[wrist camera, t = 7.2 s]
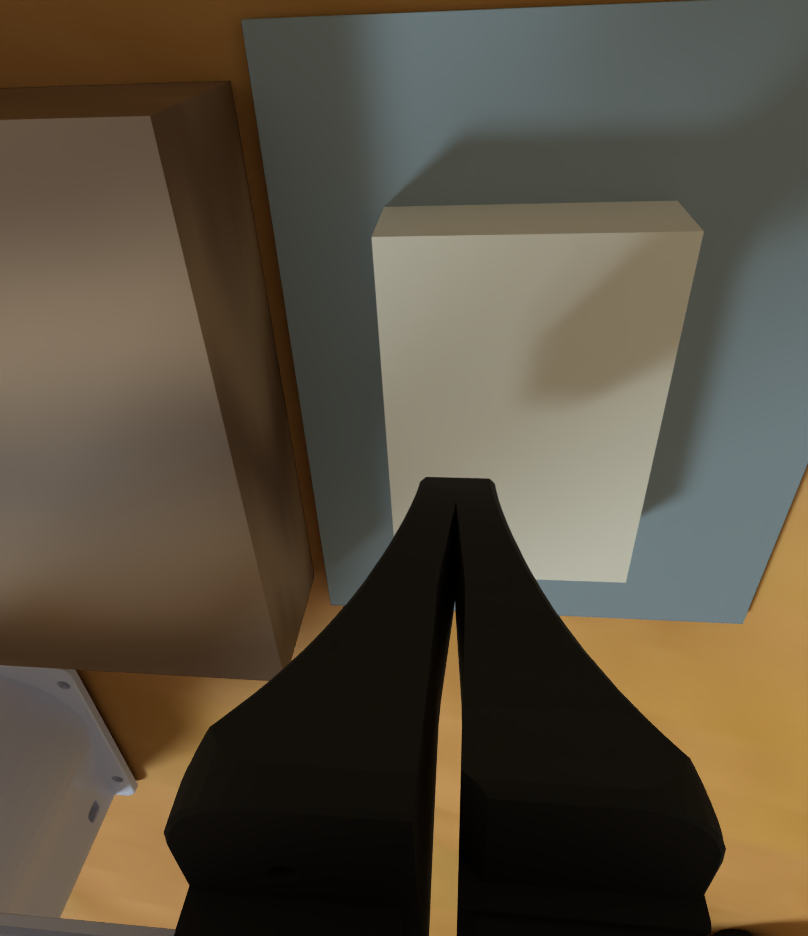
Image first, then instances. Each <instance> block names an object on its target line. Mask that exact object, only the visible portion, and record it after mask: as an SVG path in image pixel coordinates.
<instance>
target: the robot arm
mask: <svg viewBox="0 0 808 936" xmlns="http://www.w3.org/2000/svg"><path fill="white" fill-rule="evenodd" d="M454 604H455V610H456V626H457V641H458V657H459V672H460V687H461V702H462V751H461V791H460V831H459V871H458V911H457V936H707V935H709V934H710V932H711V920H710V916H709V912H708V908H707V904H706V900H705V896H704V894H705V892H706V890H707V889H708V887H709V885H710V883H711V882H712V880H713V878H714V876H715V874H716V873H717V871H718V869H719V867H720V866H721V864H722V862H723V858H724V854H725V850H726V848H725V845H724V842H723V836H722V832H721V828H720V825H719V822H718V819H717V817H716V814H715V812H714V809H713V807H712V804H711V802H710V799H709V797H708V795H707V792H706V790H705V788H704V785H703V783H702V781H701V779H700V777H699V775H698V773H697V771H696V769H695V767H694V765H693V763H692V761H691V759H690V758H689V757H688V756H687V755H686V754H684V753H683V752H682V751H681V750H680V749H679V748H678V747H677V746H675V745H674V744H673V743H672V742H671V741H670V740H669V739H668V738H667V737H665V736H664V735H663V734H662V733H661V732H660V731H659V730H658V729H657V728H656V727H655V726H654V725H653V724H652V723H651V722H650V721H649V720H648V719H647V718H646V717H645V716H644V715H643V714H642V713H641V712H640V711H639V710H638V709H637V708H636V707H635V706H634V705H633V704H632V703H631V702H630V701H629V700H628V699H627V698H626V697H625V696H624V695H623V694H622V693H621V692H620V691H619V690H618V689H617V687H616V686H615V685H614V684H613V683H612V682H611V680H610V679H609V678H608V677H607V676H606V675H605V674H604V672H603V671H602V670H601V669H600V668H599V667H598V665H597V664H596V663H595V662H594V661H593V660H592V659H591V657H590V656H589V655H588V654H587V653H586V652H585V650H584V649H583V648H582V646H581V645H580V644H579V643H578V641H577V640H576V639H575V637H574V636H573V635H572V633H571V632H570V631H569V629H568V628H567V627H566V625H565V624H564V622H563V621H562V620H561V618H560V617H559V615H558V614H557V613H556V611H555V610H554V608H553V607H552V605H551V604H550V602H549V600H548V599H547V597H546V596H545V594H544V593H543V591H542V589H541V588H540V586H539V584H538V582H537V581H536V579H535V577H534V576H533V574H532V572H531V570H530V569H529V567H528V565H527V563H526V561H525V559H524V557H523V555H522V553H521V551H520V549H519V547H518V545H517V543H516V541H515V539H514V537H513V535H512V533H511V530H510V528H509V526H508V523H507V521H506V518H505V516H504V513H503V511H502V508H501V505H500V502H499V499H498V495H497V491H496V486H495V483H494V482H493V481H492V480H491V479H489V478H451V477H425V478H424V479H423V480H421V481H420V484H419V487H418V490H417V492H416V495H415V497H414V499H413V502H412V504H411V506H410V508H409V510H408V512H407V514H406V516H405V518H404V520H403V522H402V523H401V525H400V527H399V529H398V530H397V532H396V534H395V535H394V537H393V539H392V541H391V542H390V544H389V546H388V547H387V549H386V550H385V552H384V554H383V555H382V556H381V558H380V559H379V561H378V562H377V564H376V565H375V567H374V568H373V570H372V571H371V572H370V574H369V575H368V577H367V578H366V580H365V581H364V582H363V584H362V585H361V586H360V588H359V589H358V590H357V591H356V593H355V594H354V595H353V597H352V598H351V599H350V600H349V601H348V603H347V604H346V605H345V606H344V607H343V609H342V610H341V611H340V612H339V613H338V614H337V616H336V617H335V618H334V619H333V620H332V621H331V622H330V623H329V624H328V625H327V626H326V628H325V629H324V630H323V631H322V632H321V633H320V634H319V635H318V636H317V637H316V638H315V639H314V640H313V641H312V642H311V643H310V644H309V645H308V646H307V647H306V648H305V649H304V650H303V651H302V652H301V653H300V654H299V655H298V656H297V657H296V658H295V659H293V660H292V661H291V662H290V663H289V664H288V665H287V666H286V667H284V668H283V669H282V670H281V671H280V672H279V673H278V674H277V675H276V676H274V677H273V678H272V679H271V680H270V681H269V682H268V683H267V684H265V685H264V686H263V687H262V688H260V689H259V690H258V691H257V692H256V693H254V694H253V695H252V696H250V697H249V698H248V699H246V700H245V701H244V702H242V703H241V704H240V705H238V706H237V707H236V708H235V709H233V710H232V711H231V712H229V713H228V714H227V715H225V716H224V717H223V718H221V719H220V720H219V721H217V722H216V723H215V724H213V725H212V726H210V727H209V729H208V731H207V732H206V734H205V736H204V738H203V739H202V741H201V743H200V745H199V747H198V748H197V750H196V752H195V754H194V756H193V758H192V760H191V762H190V764H189V766H188V768H187V770H186V772H185V774H184V777H183V779H182V781H181V784H180V787H179V790H178V792H177V795H176V798H175V801H174V804H173V807H172V809H171V812H170V815H169V818H168V821H167V824H166V827H165V830H164V835H165V838H166V842H167V845H168V847H169V849H170V851H171V853H172V854H173V856H174V858H175V860H176V862H177V863H178V865H179V867H180V869H181V871H182V873H183V874H184V876H185V878H186V880H187V882H188V883H189V885H190V886H189V889H188V892H187V895H186V899H185V902H184V905H183V908H182V911H181V914H180V917H179V921H178V924H177V927H176V929H166V928H156V927H146V926H135V925H125V924H115V923H104V922H94V921H84V920H73V919H63V918H60V916H61V914H62V912H63V910H64V907H65V905H66V903H67V901H68V898H69V896H70V894H71V892H72V889H73V887H74V885H75V883H76V880H77V878H78V876H79V874H80V871H81V869H82V867H83V865H84V862H85V860H86V858H87V856H88V853H89V851H90V849H91V847H92V844H93V842H94V840H95V838H96V835H97V833H98V831H99V829H100V826H101V824H102V822H103V820H104V817H105V815H106V813H107V811H108V808H109V806H110V804H111V802H112V799H113V797H114V795H132V794H134V793H135V791H136V789H137V786H138V785H137V782H136V780H135V779H134V777H133V775H132V773H131V771H130V769H129V767H128V766H127V764H126V762H125V760H124V758H123V756H122V755H121V753H120V751H119V749H118V747H117V745H116V743H115V742H114V740H113V738H112V736H111V734H110V732H109V731H108V729H107V727H106V725H105V723H104V721H103V719H102V718H101V716H100V714H99V712H98V710H97V708H96V707H95V705H94V703H93V701H92V699H91V697H90V696H89V694H88V692H87V690H86V688H85V686H84V684H83V683H82V681H81V679H80V677H79V675H78V673H77V672H76V670H73V669H56V668H39V667H21V666H4V665H0V936H429V923H430V899H431V875H432V852H433V829H434V807H435V786H436V765H437V744H438V724H439V714H440V704H441V696H442V689H443V682H444V675H445V668H446V661H447V654H448V647H449V640H450V633H451V626H452V619H453V612H454Z"/></svg>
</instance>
